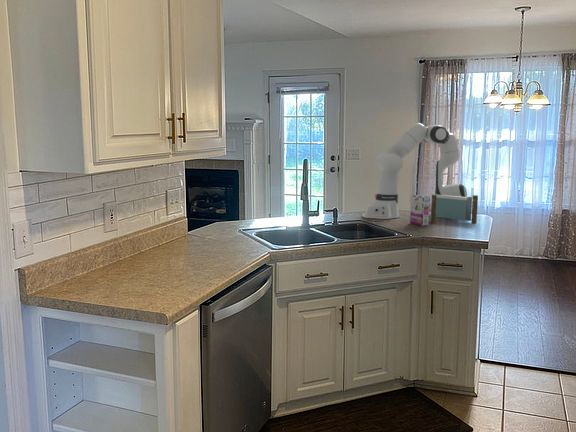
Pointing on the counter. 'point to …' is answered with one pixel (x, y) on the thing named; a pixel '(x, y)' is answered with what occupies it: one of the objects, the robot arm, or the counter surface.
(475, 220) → the gate post
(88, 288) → the counter surface
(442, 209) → the gate
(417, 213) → the candy bar box
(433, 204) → the post
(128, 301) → the counter surface
